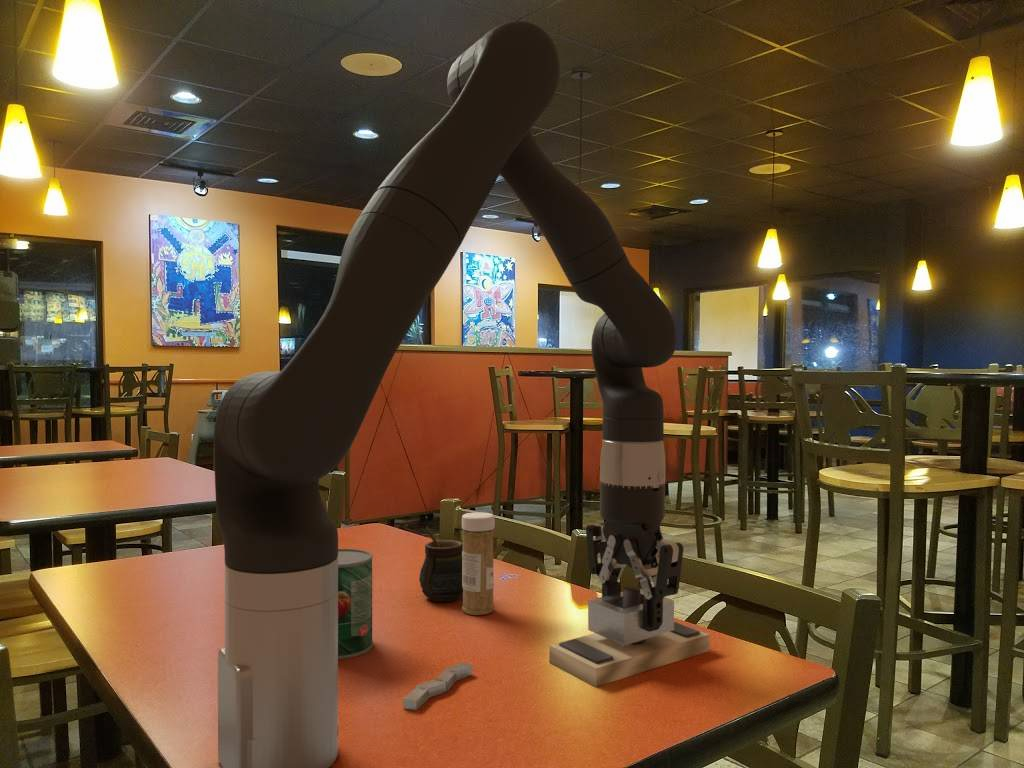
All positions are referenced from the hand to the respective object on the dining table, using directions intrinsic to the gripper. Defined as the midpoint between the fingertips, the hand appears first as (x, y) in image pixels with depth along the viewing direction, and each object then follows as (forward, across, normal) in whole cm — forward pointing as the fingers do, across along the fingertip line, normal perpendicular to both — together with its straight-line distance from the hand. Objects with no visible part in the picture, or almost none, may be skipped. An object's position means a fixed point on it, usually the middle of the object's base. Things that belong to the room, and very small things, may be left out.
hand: (631, 621), depth 87 cm
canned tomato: (+4, -22, -27) cm, 35 cm away
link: (+1, 0, 0) cm, 1 cm away
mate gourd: (+4, -32, -7) cm, 33 cm away
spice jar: (+4, -24, -6) cm, 25 cm away
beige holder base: (+4, 0, 0) cm, 4 cm away
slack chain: (+4, -5, -23) cm, 24 cm away
